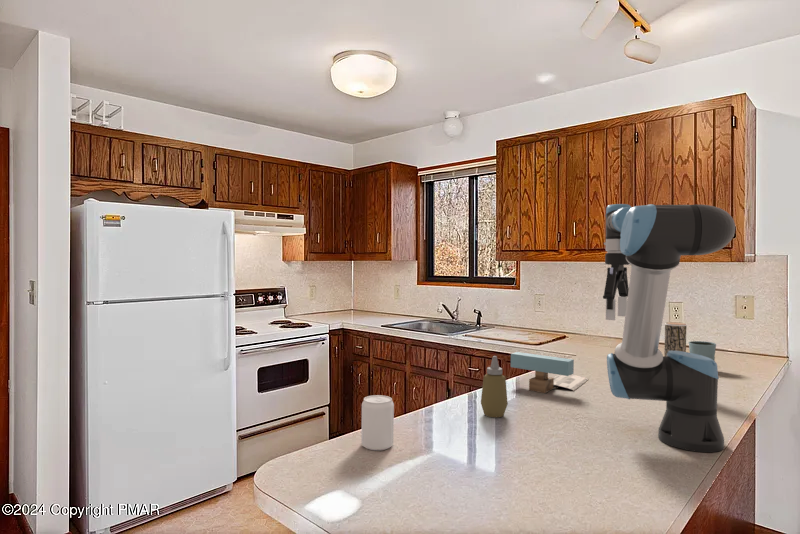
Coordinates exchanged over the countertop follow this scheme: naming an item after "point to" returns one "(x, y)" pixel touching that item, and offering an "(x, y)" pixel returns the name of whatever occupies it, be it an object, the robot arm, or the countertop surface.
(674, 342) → the bark covered log
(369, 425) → the beverage can
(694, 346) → the grey green cup
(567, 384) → the newspaper
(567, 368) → the bar
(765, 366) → the countertop surface
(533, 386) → the fulcrum
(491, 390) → the squeeze bottle
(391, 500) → the countertop surface
